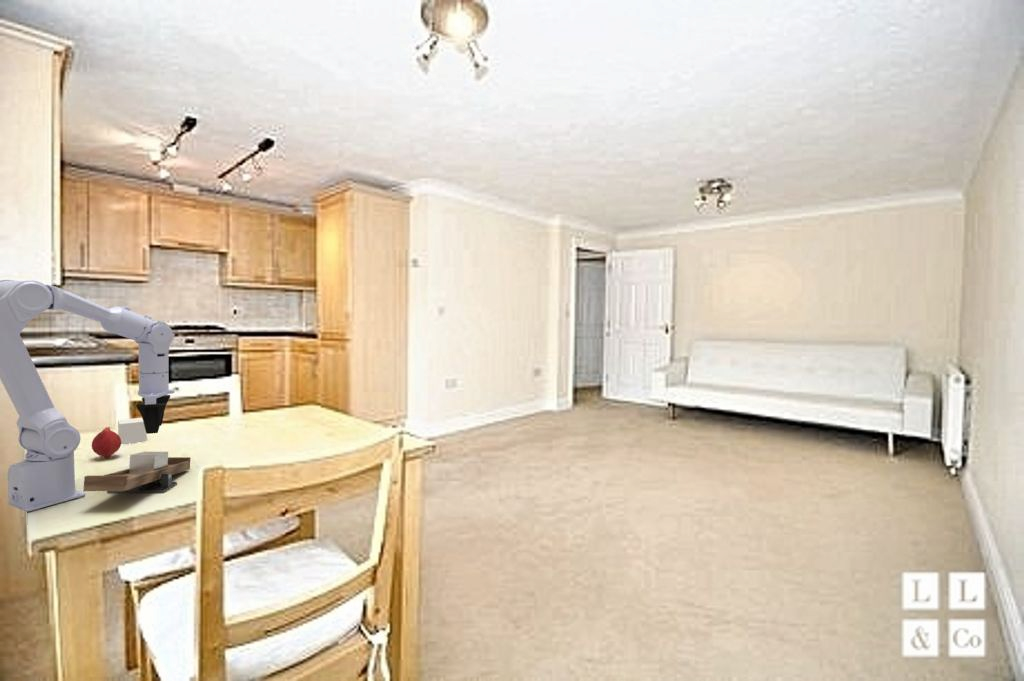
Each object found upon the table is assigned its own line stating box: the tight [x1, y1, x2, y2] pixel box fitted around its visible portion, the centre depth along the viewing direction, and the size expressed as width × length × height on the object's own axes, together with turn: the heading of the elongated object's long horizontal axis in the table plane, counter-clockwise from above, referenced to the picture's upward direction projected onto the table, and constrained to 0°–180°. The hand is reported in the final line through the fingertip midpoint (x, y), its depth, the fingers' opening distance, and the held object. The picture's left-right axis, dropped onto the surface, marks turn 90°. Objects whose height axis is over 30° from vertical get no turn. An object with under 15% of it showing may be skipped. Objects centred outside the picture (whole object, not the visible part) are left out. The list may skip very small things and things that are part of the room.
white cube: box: [117, 417, 148, 445], centre depth 144 cm, size 6×6×6 cm
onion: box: [91, 426, 122, 459], centre depth 128 cm, size 6×6×8 cm
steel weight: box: [128, 451, 169, 474], centre depth 111 cm, size 5×5×4 cm
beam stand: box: [106, 472, 178, 494], centre depth 109 cm, size 5×11×4 cm, turn 96°
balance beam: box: [83, 456, 192, 492], centre depth 109 cm, size 24×8×3 cm, turn 6°
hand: (154, 429), depth 119 cm, fingers open, 7 cm apart
